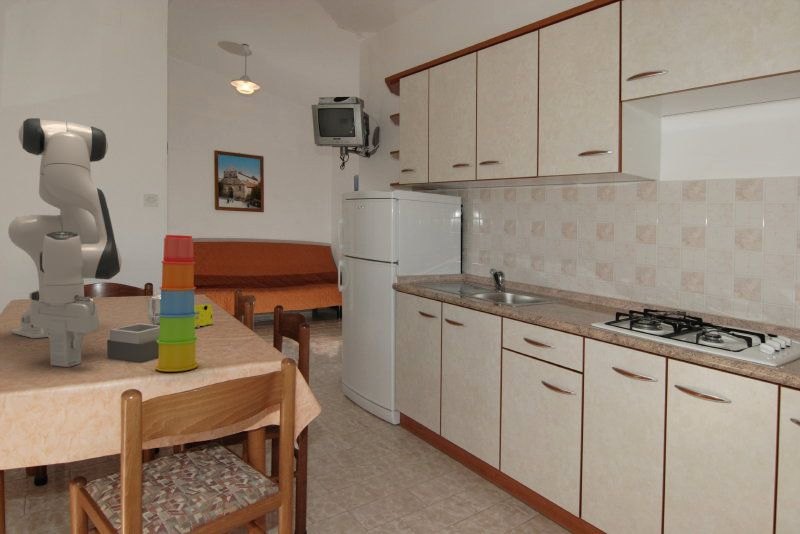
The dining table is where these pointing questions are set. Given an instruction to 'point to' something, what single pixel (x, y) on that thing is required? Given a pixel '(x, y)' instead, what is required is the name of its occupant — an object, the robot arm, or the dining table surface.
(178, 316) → the stacking cups
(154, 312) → the beer glass
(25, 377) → the dining table surface
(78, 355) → the skincare box
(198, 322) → the yellow toy chassis
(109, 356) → the grey open cubby box
